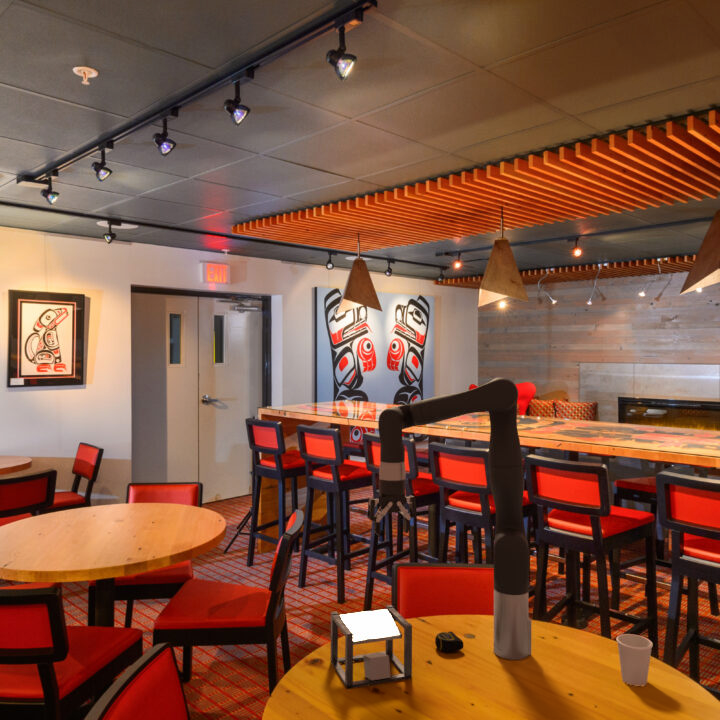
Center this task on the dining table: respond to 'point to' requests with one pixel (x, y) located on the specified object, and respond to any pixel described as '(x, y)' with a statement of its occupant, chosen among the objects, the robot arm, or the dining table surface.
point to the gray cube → (377, 666)
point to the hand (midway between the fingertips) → (392, 533)
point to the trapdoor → (371, 626)
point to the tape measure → (448, 642)
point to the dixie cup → (634, 658)
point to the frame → (349, 658)
